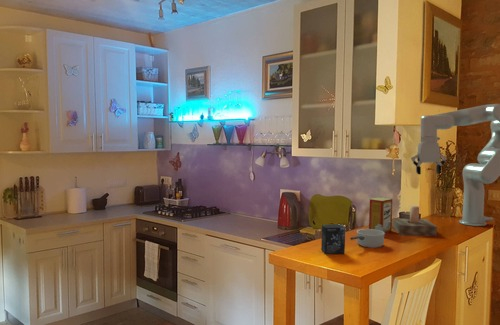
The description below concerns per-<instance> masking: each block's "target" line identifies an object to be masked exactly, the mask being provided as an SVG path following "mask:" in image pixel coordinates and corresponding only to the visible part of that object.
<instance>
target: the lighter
mask: <svg viewBox="0 0 500 325" xmlns="http://www.w3.org/2000/svg"><path fill="white" fill-rule="evenodd" d="M390 223H391V221H390V220H387V221H386V223H385V225H384V227H382V225H380V224H378V225H377V226H375V230H379V231H383V232H385V229H388V227H389V225H390ZM385 235H386V233H385V234H384V238H385Z"/></svg>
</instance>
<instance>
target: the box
mask: <svg viewBox="0 0 500 325" xmlns="http://www.w3.org/2000/svg"><path fill="white" fill-rule="evenodd" d="M345 248H346V227H345V226H344V225H342V224H341V223H339V224H322V225H321V248H320V250H321V252H322V253H324V254H325V255H337V254H339V255H341V254H342V255H344V254H345V252H346V251H345Z"/></svg>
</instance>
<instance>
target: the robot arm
mask: <svg viewBox="0 0 500 325" xmlns="http://www.w3.org/2000/svg"><path fill="white" fill-rule="evenodd" d="M485 122H490V126H489V128H490V131H491V138H490V139H489V141H488V142H487V144H486V145H485V146H484V147H483V148H482V149H481V150H480V152H479V153H478V155H477V158H476V159H477V162H478V163H476V162H474V163H473V162H472V163H468V164H466V165H465V166H464V167H463V169H462V180H463V200H462V201H463V202H462V218H461V219H459V220H458V223H459V224H461V225H465V226H470V227H472V226H473V227H484V226H487V222H488V221H489V222H493V221H494V218H493V216H492V217H488V216H486V215H484V212H485V211H484V209H485V208H484V207H485V186H484V184H487V185H488V184H493V183H494V182H495V181H496V180H497V179H499V177H500V103H491V104H490V103H489V104H483V105H478V106H477V105H476V106H473V107H469V108H464V109H463V108H462V109H458V110H454V111H448V112H443V113H442V112H441V113H438V114H431V115H430V114H429V115H422V116H421V117H420V142H418V147H417V153H416V155H414V156H411V157H410V161H411V162H412V164H413V165H414V166H415V169H416V171H415V172H416V173H417V175H421V173H422V170H421V169H422V168H421V165H422V164H425V163H426V164H429V163H432V164H433V163H435V164H436V174H438V175H441V173H442V166H443V165H444V164H445V163H446V160H447V156H445V155H443V154H441V151H440V150H441V149H440V144H439V142H438V141H440V140H441V138H440V137H438V130H440V131H441V130H450V129H451V128H453V127H459V126H460V127H461V126H462V127H464V126H471V125H475V124H476V125H477V124H480V123H481V124H482V123H485ZM441 158H442V159H441ZM416 160H417V161H416Z"/></svg>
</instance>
